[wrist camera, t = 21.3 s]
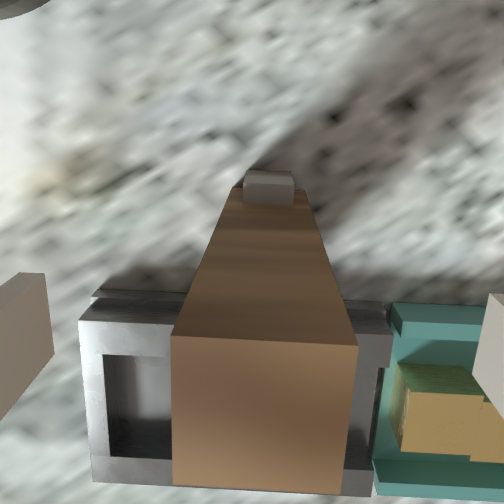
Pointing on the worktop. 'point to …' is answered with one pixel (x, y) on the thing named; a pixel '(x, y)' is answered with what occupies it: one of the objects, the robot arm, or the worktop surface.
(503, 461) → the tan block
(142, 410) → the grey shallow bin
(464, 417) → the chip
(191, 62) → the worktop surface
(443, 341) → the tray
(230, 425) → the brown long block
